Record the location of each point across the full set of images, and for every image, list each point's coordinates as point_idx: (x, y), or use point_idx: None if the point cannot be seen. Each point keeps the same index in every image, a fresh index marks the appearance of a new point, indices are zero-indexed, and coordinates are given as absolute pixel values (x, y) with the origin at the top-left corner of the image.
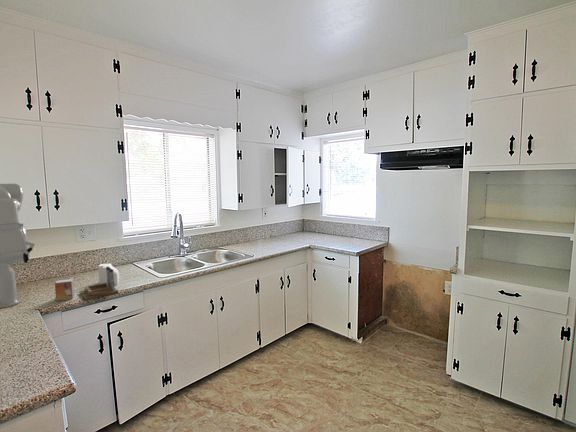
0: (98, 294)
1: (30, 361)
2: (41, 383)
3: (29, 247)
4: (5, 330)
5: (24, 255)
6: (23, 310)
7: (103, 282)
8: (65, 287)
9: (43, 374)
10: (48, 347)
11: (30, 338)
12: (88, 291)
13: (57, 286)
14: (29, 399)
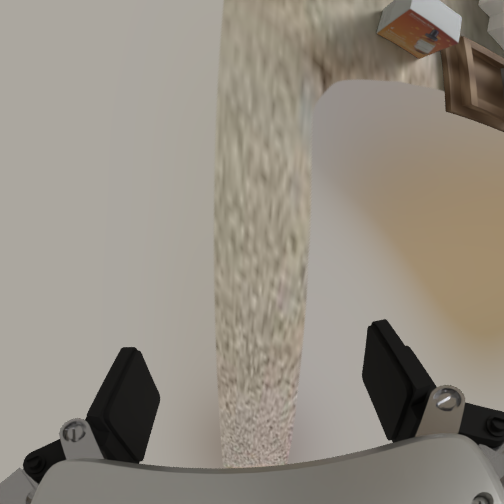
0: (479, 115)
1: (255, 412)
2: (260, 456)
3: (490, 460)
4: (216, 209)
5: (388, 436)
6: (276, 41)
7: (495, 29)
8: (428, 37)
9: (265, 445)
10: (290, 385)
11: (269, 321)
12: (469, 92)
13: (409, 18)
14: None
